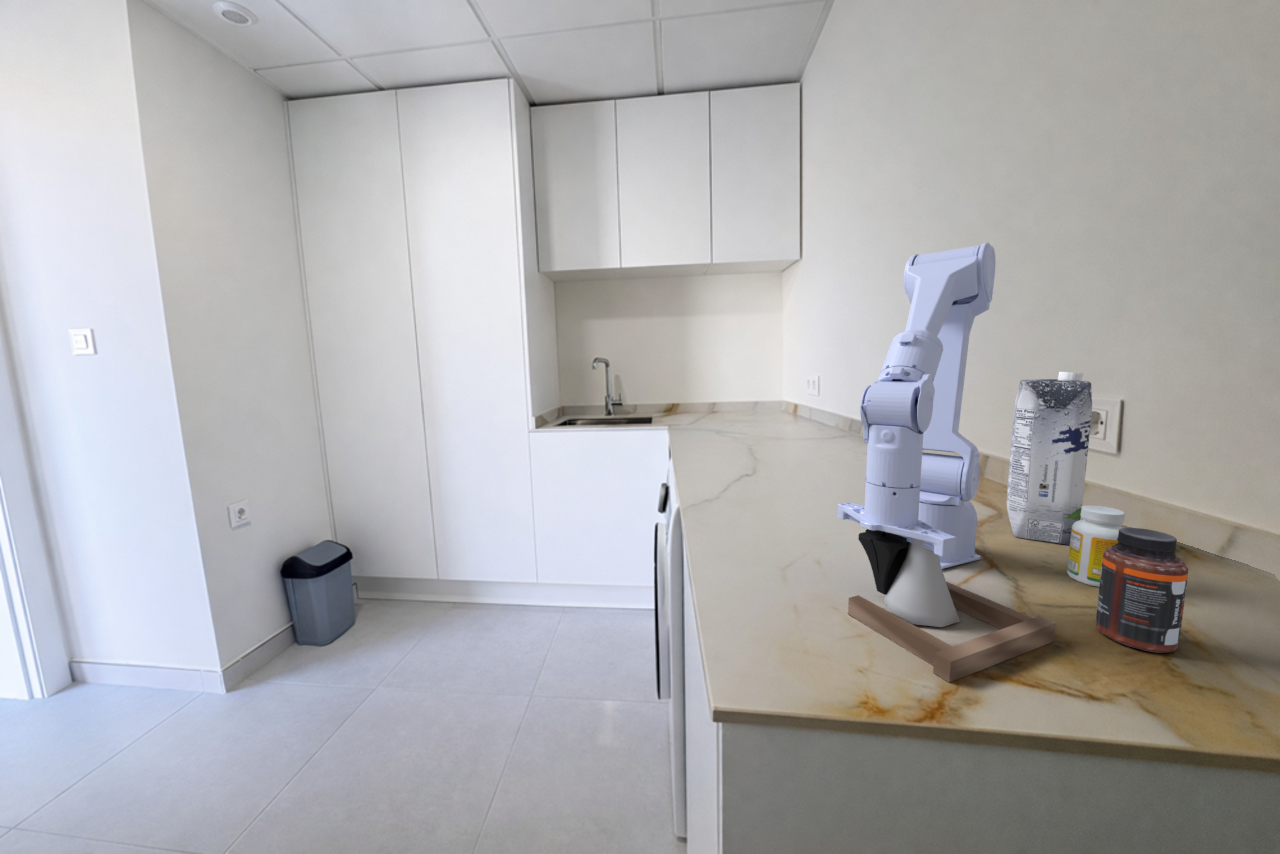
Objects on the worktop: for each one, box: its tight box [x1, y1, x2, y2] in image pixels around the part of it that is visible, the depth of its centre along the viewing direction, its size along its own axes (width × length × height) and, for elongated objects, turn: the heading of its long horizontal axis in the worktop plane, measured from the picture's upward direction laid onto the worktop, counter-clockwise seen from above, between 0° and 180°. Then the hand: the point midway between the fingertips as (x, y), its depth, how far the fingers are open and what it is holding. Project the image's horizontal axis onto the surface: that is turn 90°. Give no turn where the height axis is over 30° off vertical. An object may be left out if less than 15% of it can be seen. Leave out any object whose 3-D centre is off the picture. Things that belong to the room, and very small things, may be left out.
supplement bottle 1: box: [1066, 504, 1126, 588], centre depth 61 cm, size 5×5×10 cm
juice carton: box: [1006, 371, 1093, 546], centre depth 77 cm, size 9×10×27 cm
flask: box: [883, 525, 960, 628], centre depth 54 cm, size 7×7×10 cm
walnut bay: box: [847, 581, 1057, 683], centre depth 51 cm, size 16×12×2 cm
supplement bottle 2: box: [1095, 527, 1189, 654], centre depth 48 cm, size 6×6×11 cm
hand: (886, 591), depth 57 cm, fingers closed
